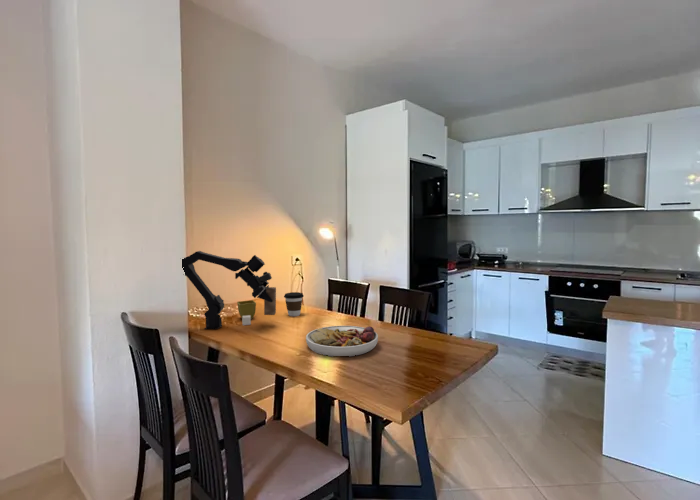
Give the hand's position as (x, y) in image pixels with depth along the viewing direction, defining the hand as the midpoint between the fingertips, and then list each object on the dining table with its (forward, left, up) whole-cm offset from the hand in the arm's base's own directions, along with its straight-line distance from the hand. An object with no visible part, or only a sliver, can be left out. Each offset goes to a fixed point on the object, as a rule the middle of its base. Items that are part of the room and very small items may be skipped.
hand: (272, 300), depth 189 cm
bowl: (+38, -28, -14) cm, 49 cm away
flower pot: (-19, +14, -13) cm, 27 cm away
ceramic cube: (-15, +3, -13) cm, 20 cm away
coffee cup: (+5, +23, -13) cm, 27 cm away
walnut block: (-1, 0, -7) cm, 7 cm away
